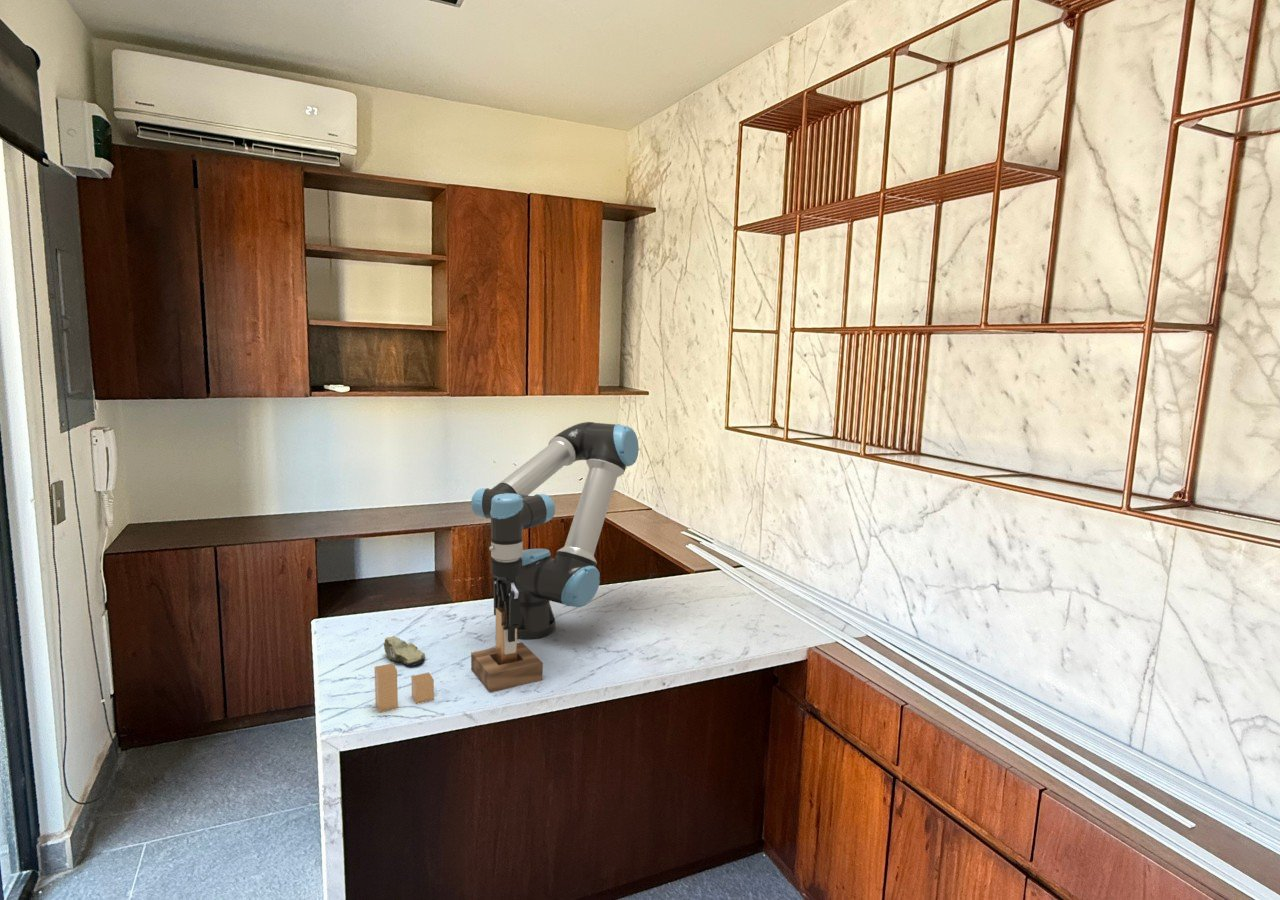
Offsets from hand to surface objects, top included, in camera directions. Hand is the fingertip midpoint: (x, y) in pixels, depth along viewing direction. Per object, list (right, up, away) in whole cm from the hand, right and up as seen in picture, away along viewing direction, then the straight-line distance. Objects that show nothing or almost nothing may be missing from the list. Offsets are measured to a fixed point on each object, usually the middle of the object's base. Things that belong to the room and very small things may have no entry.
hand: (506, 649), depth 171 cm
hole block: (0, -7, +1) cm, 7 cm away
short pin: (-17, -8, -12) cm, 22 cm away
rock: (-28, -5, +7) cm, 29 cm away
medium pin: (-24, -8, -16) cm, 30 cm away
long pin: (0, -4, 0) cm, 4 cm away
